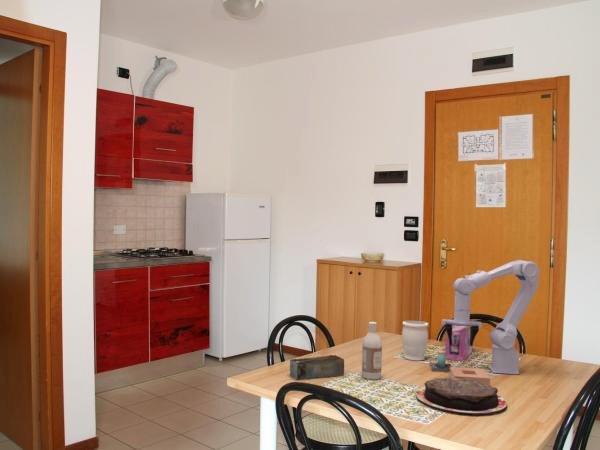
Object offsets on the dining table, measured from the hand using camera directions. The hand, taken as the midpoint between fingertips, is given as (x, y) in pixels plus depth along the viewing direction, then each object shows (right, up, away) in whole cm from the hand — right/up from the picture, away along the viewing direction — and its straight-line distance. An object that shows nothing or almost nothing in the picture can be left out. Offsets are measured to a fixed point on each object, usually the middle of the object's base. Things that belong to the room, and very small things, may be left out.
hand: (460, 344), depth 200 cm
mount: (-7, -10, +2) cm, 12 cm away
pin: (-7, -10, +2) cm, 12 cm away
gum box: (+7, -10, +25) cm, 28 cm away
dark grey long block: (-56, -9, -10) cm, 57 cm away
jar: (-14, -10, +17) cm, 24 cm away
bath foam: (-36, -9, -11) cm, 39 cm away
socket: (-1, -10, -12) cm, 16 cm away
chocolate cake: (-11, -11, -34) cm, 37 cm away
